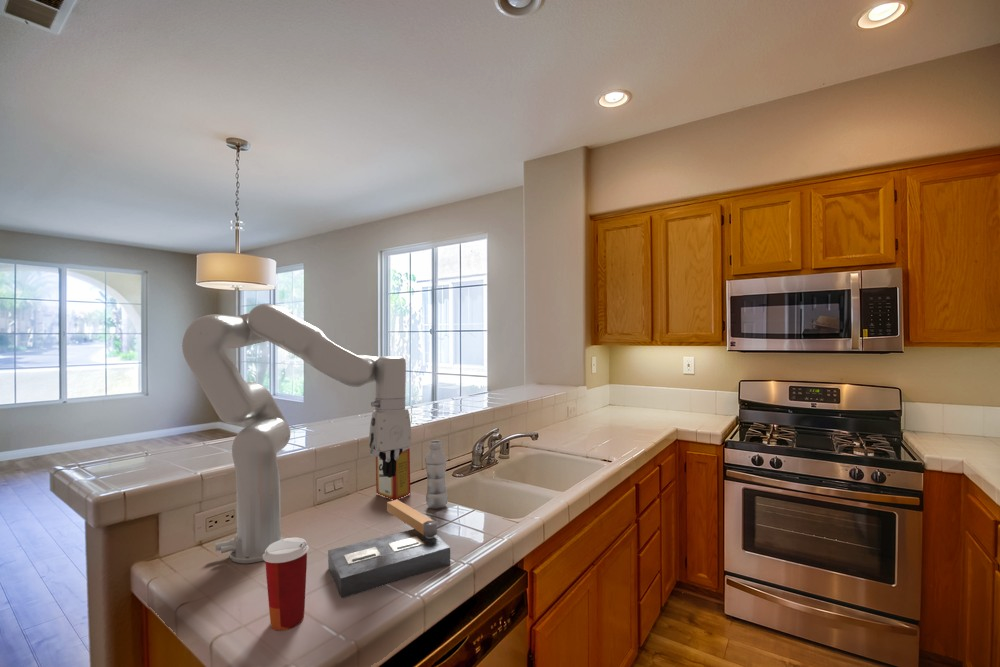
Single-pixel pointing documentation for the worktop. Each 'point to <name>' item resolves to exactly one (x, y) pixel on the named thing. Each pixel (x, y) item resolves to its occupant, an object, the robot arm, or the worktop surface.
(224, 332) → the robot arm
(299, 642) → the worktop surface
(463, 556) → the worktop surface
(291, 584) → the paper cup
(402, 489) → the red and yellow box
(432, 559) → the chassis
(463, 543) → the worktop surface
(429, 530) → the light orange bar
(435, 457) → the plastic bottle
